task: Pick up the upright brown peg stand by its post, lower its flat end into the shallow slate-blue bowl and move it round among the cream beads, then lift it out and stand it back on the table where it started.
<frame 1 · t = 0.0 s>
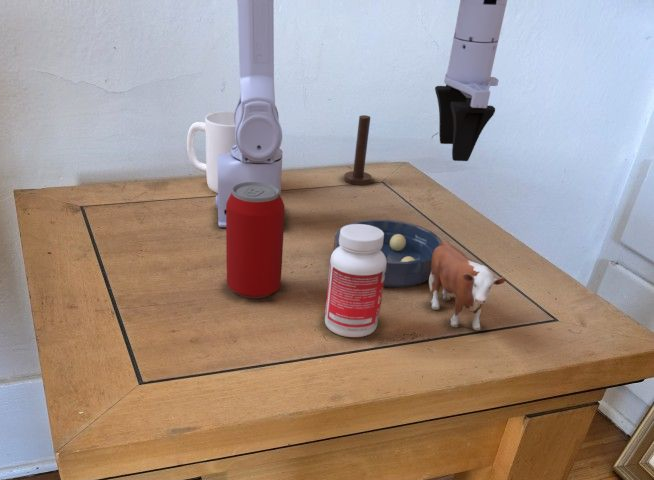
hand: (453, 151, 99), 10 cm above the table, tool pointing down, fingers open, 7 cm apart
bowl: (385, 265, 94), on the table
bull figurine: (454, 320, 84), on the table
cup: (222, 186, 114), on the table
bead a: (397, 242, 95), point 2 cm above the table, touching bowl
bead b: (356, 252, 92), point 2 cm above the table, touching bowl
pill bottle: (350, 327, 81), on the table
beverage can: (253, 290, 87), on the table
brown peg stand: (357, 180, 118), on the table
bead c: (408, 265, 90), point 2 cm above the table, touching bowl
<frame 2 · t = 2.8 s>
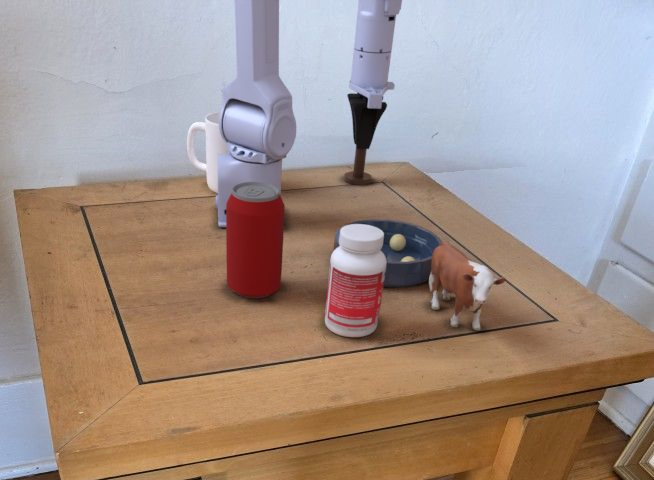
hand: (361, 146, 115), 5 cm above the table, tool pointing down, fingers closed on brown peg stand
brown peg stand: (357, 180, 118), on the table, touching gripper
everything else where it was.
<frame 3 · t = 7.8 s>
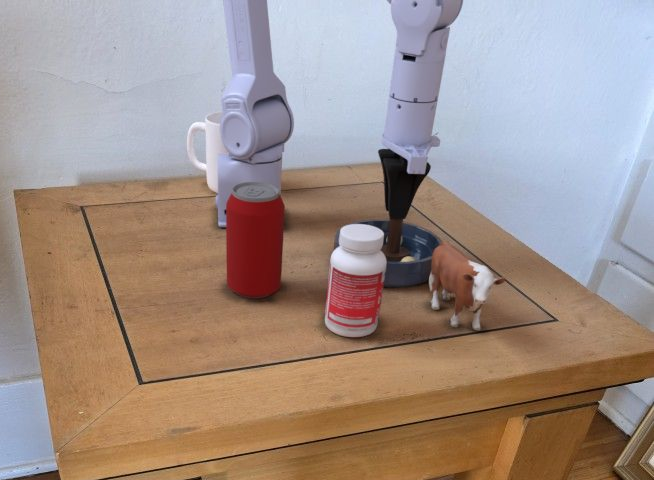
hand: (395, 214, 91), 6 cm above the table, tool pointing down, fingers closed on brown peg stand
bead a: (394, 240, 96), point 2 cm above the table, tilted 38°, touching bowl, brown peg stand
brown peg stand: (391, 256, 94), point 1 cm above the table, touching bead a, bowl, gripper
everything else where it was.
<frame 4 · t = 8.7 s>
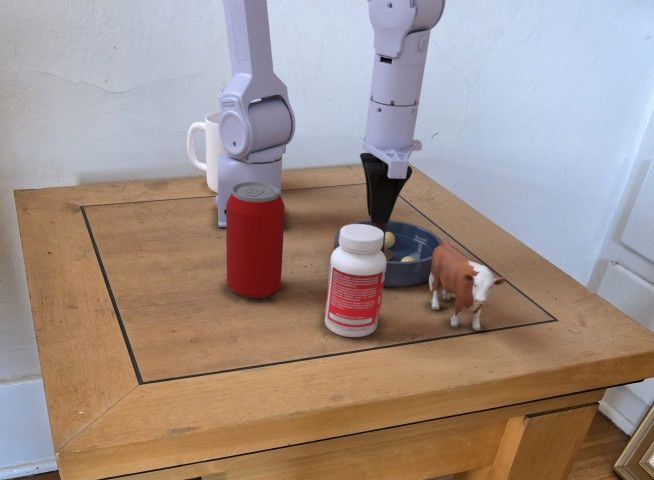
hand: (377, 218, 89), 6 cm above the table, tool pointing down, fingers closed on brown peg stand
bead a: (387, 240, 96), point 2 cm above the table, tilted 29°, touching bowl
bead b: (352, 253, 92), point 2 cm above the table, tilted 30°, touching bowl
brown peg stand: (376, 259, 93), point 1 cm above the table, touching gripper
everything else where it was.
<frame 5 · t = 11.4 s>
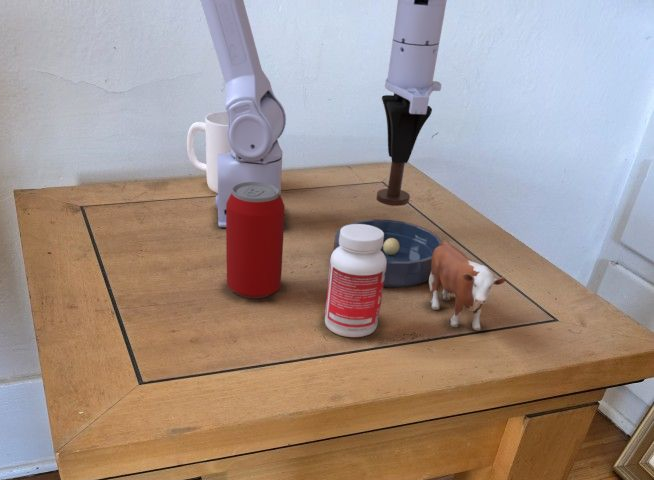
hand: (397, 159, 94), 10 cm above the table, tool pointing down, fingers closed on brown peg stand
bead a: (367, 240, 95), point 2 cm above the table, tilted 139°, touching bowl
bead b: (356, 253, 92), point 2 cm above the table, tilted 14°, touching bowl
brown peg stand: (392, 199, 98), point 5 cm above the table, touching gripper
bead c: (391, 246, 94), point 2 cm above the table, tilted 86°, touching bowl
everything else where it was.
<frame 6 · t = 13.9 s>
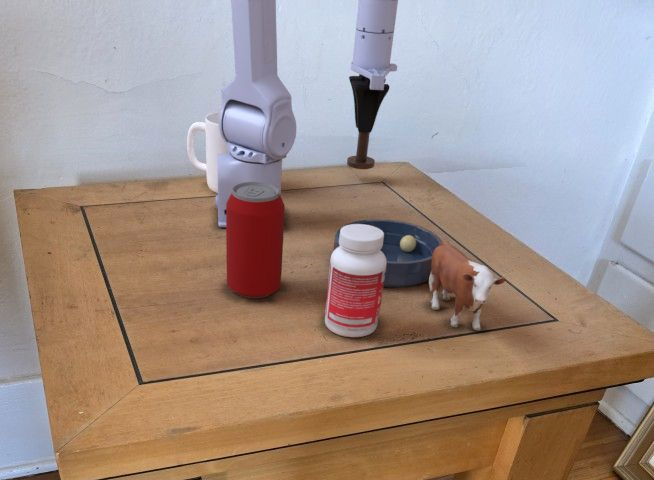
hand: (363, 129, 113), 8 cm above the table, tool pointing down, fingers closed on brown peg stand
bead a: (371, 243, 95), point 2 cm above the table, tilted 124°, touching bowl
bead b: (361, 253, 92), point 2 cm above the table, tilted 39°, touching bowl
brown peg stand: (360, 164, 117), point 3 cm above the table, touching gripper
bead c: (408, 243, 95), point 2 cm above the table, tilted 92°, touching bowl
everything else where it was.
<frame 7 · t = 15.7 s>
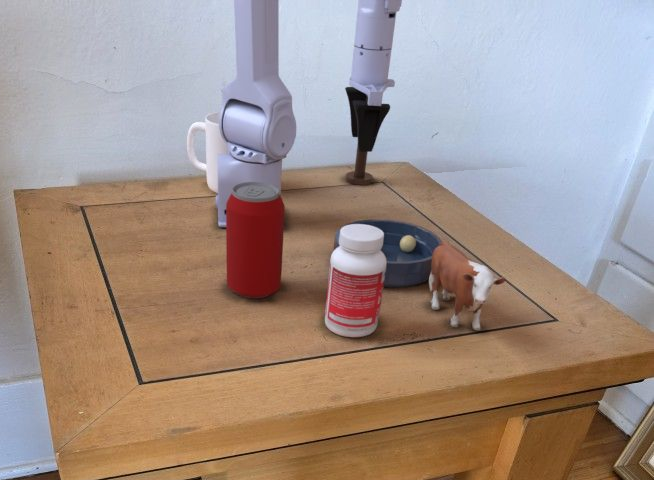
hand: (361, 143, 114), 6 cm above the table, tool pointing down, fingers open, 7 cm apart
bead a: (373, 245, 94), point 2 cm above the table, tilted 95°, touching bowl
bead b: (364, 253, 92), point 2 cm above the table, tilted 60°, touching bowl
brown peg stand: (358, 180, 118), on the table
everything else where it was.
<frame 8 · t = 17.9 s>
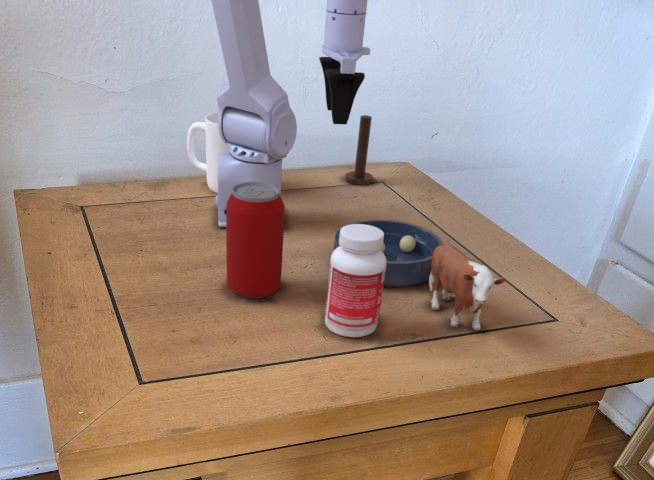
hand: (336, 116, 109), 10 cm above the table, tool pointing down, fingers open, 7 cm apart
bead a: (376, 248, 94), point 2 cm above the table, tilted 60°, touching bowl
bead b: (368, 254, 92), point 2 cm above the table, tilted 87°, touching bowl
everything else where it was.
at the end: bead a moved 3.8 cm from its start; bead a inside the target area in the bowl (2.0 cm from its centre), point 1.7 cm above the bowl's base; brown peg stand tilted 0° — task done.
